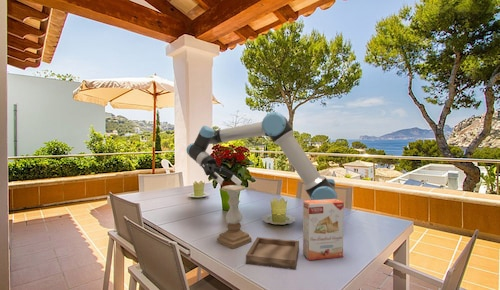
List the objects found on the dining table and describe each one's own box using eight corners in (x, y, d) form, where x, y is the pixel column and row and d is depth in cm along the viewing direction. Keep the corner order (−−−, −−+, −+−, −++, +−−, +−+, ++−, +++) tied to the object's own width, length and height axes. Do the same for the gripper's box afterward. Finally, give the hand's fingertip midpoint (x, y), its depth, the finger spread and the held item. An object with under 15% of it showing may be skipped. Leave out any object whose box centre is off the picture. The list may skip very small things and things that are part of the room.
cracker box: (309, 261, 92) (308, 203, 91) (302, 254, 98) (302, 199, 97) (344, 257, 94) (344, 201, 94) (335, 250, 100) (335, 197, 100)
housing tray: (299, 248, 103) (299, 240, 103) (295, 269, 86) (295, 260, 86) (257, 244, 107) (257, 237, 107) (246, 263, 91) (245, 255, 91)
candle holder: (216, 241, 110) (215, 187, 110) (235, 235, 118) (234, 183, 118) (232, 249, 103) (232, 190, 102) (252, 241, 110) (251, 186, 110)
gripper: (219, 170, 144) (244, 190, 132) (185, 164, 125) (209, 188, 112) (225, 158, 143) (250, 178, 131) (191, 151, 124) (217, 173, 111)
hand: (231, 183), depth 121 cm, fingers open, 13 cm apart
